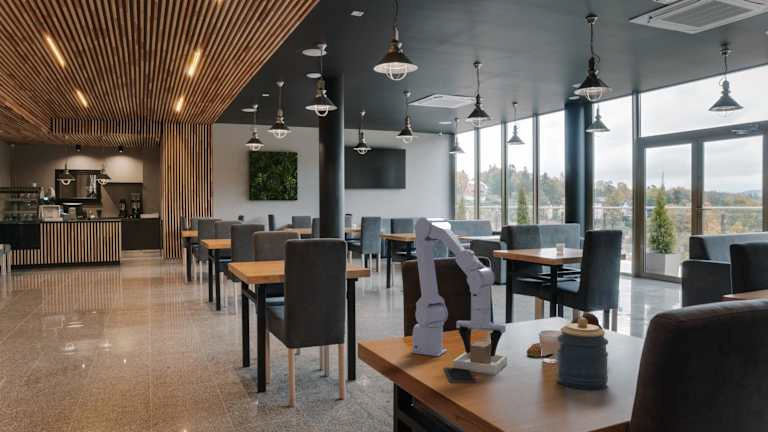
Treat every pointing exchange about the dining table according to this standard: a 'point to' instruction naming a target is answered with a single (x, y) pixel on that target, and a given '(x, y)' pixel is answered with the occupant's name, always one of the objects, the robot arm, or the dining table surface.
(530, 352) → the pastry
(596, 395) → the dining table surface
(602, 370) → the canister
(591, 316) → the ice cream bowl
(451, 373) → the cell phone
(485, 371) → the bin
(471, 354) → the beige block
